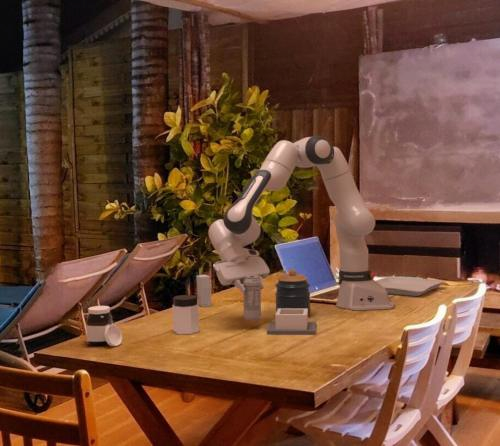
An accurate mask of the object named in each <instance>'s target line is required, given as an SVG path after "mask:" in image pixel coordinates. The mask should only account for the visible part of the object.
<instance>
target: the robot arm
mask: <svg viewBox="0 0 500 446" xmlns="http://www.w3.org/2000/svg"><path fill="white" fill-rule="evenodd" d="M313 167H316V168H317V169H318V170H319V172H320V174H321V175H320V176H321V178H322V181H323V184H324V186H325V189H326V192H327V194H328V197H329V200H331V202H332V204H334V206H335V208H336V210H335V212H334V215H333V223H334V226H335V231H336V236H337V243H338V248H339V270H338V284H339V287H338V288H339V289H338V290H339V291H338V296H337V302H336V304H335V305H336V306H337V307H338V308H341V309H347V310H350V311H371V310H372V311H373V310H375V311H376V310H391V309H394V308H395V302H394V301H393V300H390V298H389V294H388V293H387V291H386V289H385V288H384V287H383V286H381V285H380V284H379V283H377V282H376V280H375V278H376V273H375V272H374V271H372V270H371V269H369V248H368V246H367V244H366V239H365V236H367V235H369V234H370V233H372V232H373V231H374V229H375V227H376V218H375V215H374V214H373V213H372V212H371V211H370V209H369V208H368V205H367V204H366V202H365V200H364V198H363V196H362V195H361V193H360V191H359V189H358V187H357V185H356V182H355V180H354V177H353V174H352V171H351V169H350V166H349V164H348V161H347V160H346V157H345V156H344V154H343V152H342V151H341V149H340V148H339V147H337V146H333V144H332V143H331V141H330V140H329V139H328V138H326V137H325V136H322V135H313V136H307V137H304V138H301V139H299V140H296V141H294V142H292V141H289V140H286V139H285V140H284V139H283V140H279V141H278V142H277V143H276V144H274V146H273V147H272V148H271V150H270V151H269V153H268V154H267V156H266V158H265V159H264V161H263V163H262V165H261V167H260V168H259V169H258V171H256V172H255V173H254V175H252V177H251V178H250V179H249V181H248V183H247V184H246V186H245V187H244V189H243V190H242V192H241V193H240V195H239V197H238V198H237V199H236V200H235V201H234V202H233V203H232V204H231V205H230V206H229V207H228V208H227V209H226V210H225V212H224V214H223V219H221V218H220V219H217V220H215V221H214V222H212V224H210V227H209V229H208V238H209V240H210V243H211V244H212V247H213V248H214V250H215V251H216V252H217V253H218V256H219V258H220V260H219V261H214V263H213V265H212V267H213V270H214V272H215V274H216V276H217V278H218V281H219V283H220V284H221V285H222V286H228V285H229V286H230V285H234V287H236V288H237V289H239V290H240V292H241V293H242V294H243V292H246V291H247V288H246V286H243V281H244V279H245V276H249V275H258V276H259V279H260V280H261V290H263V289H264V287H265V286H264V284H263V280H264V279H265V280H266V279H267V278H268V277H269V274H270V272H271V271H270V268H269V266H268V265H267V263H266V261H265V260H264V259H263V258H262V257H260V252H259V251H258V250H255V249H250V248H245V247H246V246H249V245H251V244H252V243H255V242H256V241H257V240H258V239H259V238H260V235H261V231H262V229H261V226H260V224H259V223H258V221H257V219H256V217H254V215H253V214H254V213H253V212H254V211H253V210H254V207H255V206H256V204H258V203H257V202H258V201H259V200H260V199H261V197H262V195H263V194H264V192H265V191H268V190H269V191H275V192H276V191H279V190H281V189H283V188H284V186H285V185H287V182H289V179H290V178H291V175H292V174H293V171H294V169H295V168H296V169H305V168H313Z"/></svg>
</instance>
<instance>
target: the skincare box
mask: <svg viewBox="0 0 500 446" xmlns="http://www.w3.org/2000/svg"><path fill="white" fill-rule="evenodd" d="M195 277H196V292H197V293H196V294H197V301H198V302H197V304H198V305H199V306H200V307H203V308H207V307H212V292H211V291H212V290H211V288H212V287H211V276H209V275H207V274H198V275H197V274H196V276H195Z"/></svg>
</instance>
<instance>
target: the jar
mask: <svg viewBox="0 0 500 446" xmlns="http://www.w3.org/2000/svg"><path fill="white" fill-rule="evenodd" d="M172 300H173V304H172V324H173V325H172V326H173V328H172V330H173V331H172V332H174V333H175V334H177V335H193V334H196V333H198V332H200V313H199V311H200V309H199V308H200V307H199V306H200V305H199V304H198V295H197V296H196V295H194V294H181V295H175V296H174V297H173V298H172Z"/></svg>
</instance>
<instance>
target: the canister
mask: <svg viewBox="0 0 500 446" xmlns="http://www.w3.org/2000/svg"><path fill="white" fill-rule="evenodd" d="M276 279H277V282H276V283H275V285H274V286H275V288H276V289H275V290H276V292H275V294H274V295H275V313H276V312H277V310H278V308H293V309H308V318H309V317H310V316H311V299H310V298H311V292H310V289H309V288H310V286H311V284H310V283H309V282H308V279H309V278H308V277H307V276H305V274H303V273H297V271H296V269H294V268H291V269H289V270H288V273H283V274H281V275H280V276H279V277H277V278H276Z"/></svg>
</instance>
